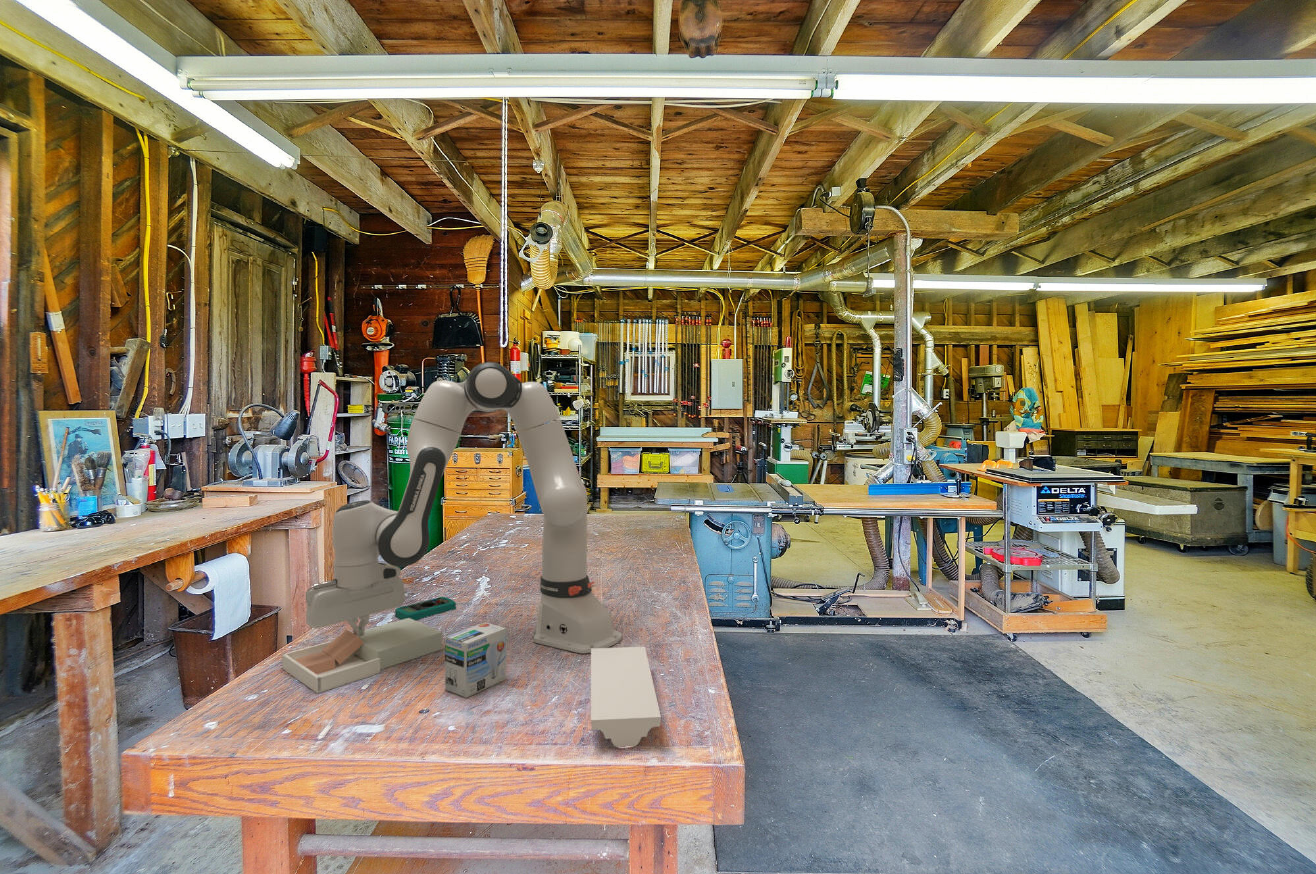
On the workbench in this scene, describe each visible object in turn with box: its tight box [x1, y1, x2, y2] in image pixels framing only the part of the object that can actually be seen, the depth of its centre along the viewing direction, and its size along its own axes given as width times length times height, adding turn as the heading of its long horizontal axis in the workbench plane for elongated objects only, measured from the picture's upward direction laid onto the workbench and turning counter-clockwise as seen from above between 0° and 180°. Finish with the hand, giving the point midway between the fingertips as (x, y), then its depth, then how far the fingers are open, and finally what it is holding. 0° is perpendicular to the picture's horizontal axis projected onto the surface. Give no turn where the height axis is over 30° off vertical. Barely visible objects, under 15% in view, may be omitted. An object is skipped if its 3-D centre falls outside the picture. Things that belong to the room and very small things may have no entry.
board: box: [352, 618, 443, 670], centre depth 137 cm, size 15×15×4 cm
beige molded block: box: [590, 646, 662, 748], centre depth 113 cm, size 12×30×5 cm, turn 6°
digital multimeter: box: [394, 596, 457, 621], centre depth 164 cm, size 7×15×3 cm, turn 142°
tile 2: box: [322, 629, 363, 665], centre depth 130 cm, size 6×6×2 cm
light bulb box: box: [444, 622, 507, 698], centre depth 120 cm, size 11×7×11 cm, turn 148°
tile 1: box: [294, 651, 335, 674], centre depth 126 cm, size 6×6×2 cm
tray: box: [281, 639, 381, 694], centre depth 126 cm, size 18×12×3 cm
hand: (358, 636), depth 133 cm, fingers closed
